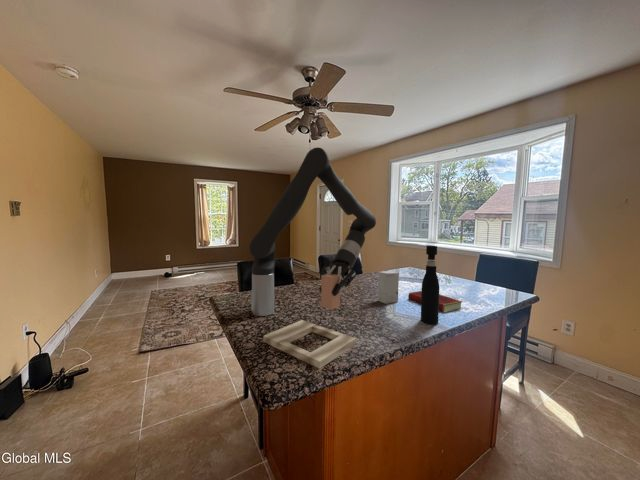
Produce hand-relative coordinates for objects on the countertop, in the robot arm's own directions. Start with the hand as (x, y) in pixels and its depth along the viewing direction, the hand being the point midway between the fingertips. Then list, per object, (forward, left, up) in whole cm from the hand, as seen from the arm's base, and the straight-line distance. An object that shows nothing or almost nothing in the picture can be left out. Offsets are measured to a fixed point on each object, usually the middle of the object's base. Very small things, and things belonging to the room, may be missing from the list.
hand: (327, 293), depth 88 cm
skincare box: (-1, +50, -15) cm, 52 cm away
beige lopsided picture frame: (-1, -8, -15) cm, 17 cm away
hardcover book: (+18, +60, -16) cm, 65 cm away
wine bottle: (+23, +36, -15) cm, 45 cm away
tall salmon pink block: (0, +2, -5) cm, 6 cm away
